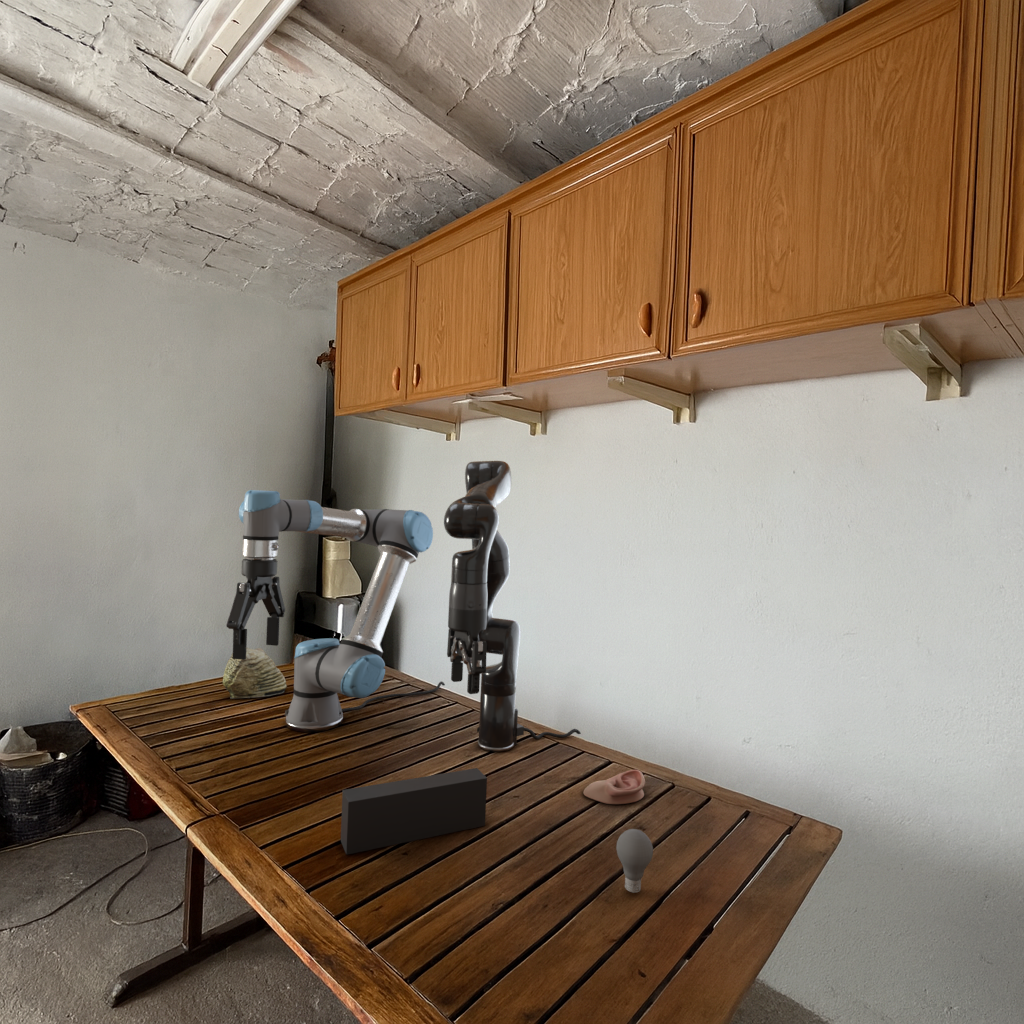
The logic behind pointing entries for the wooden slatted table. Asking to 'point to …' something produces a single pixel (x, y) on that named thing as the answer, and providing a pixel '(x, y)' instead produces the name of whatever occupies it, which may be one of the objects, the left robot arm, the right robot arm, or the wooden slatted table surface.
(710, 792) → the wooden slatted table surface
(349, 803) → the bar
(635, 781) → the anatomical model
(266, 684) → the fossil
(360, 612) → the left robot arm
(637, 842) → the light bulb
